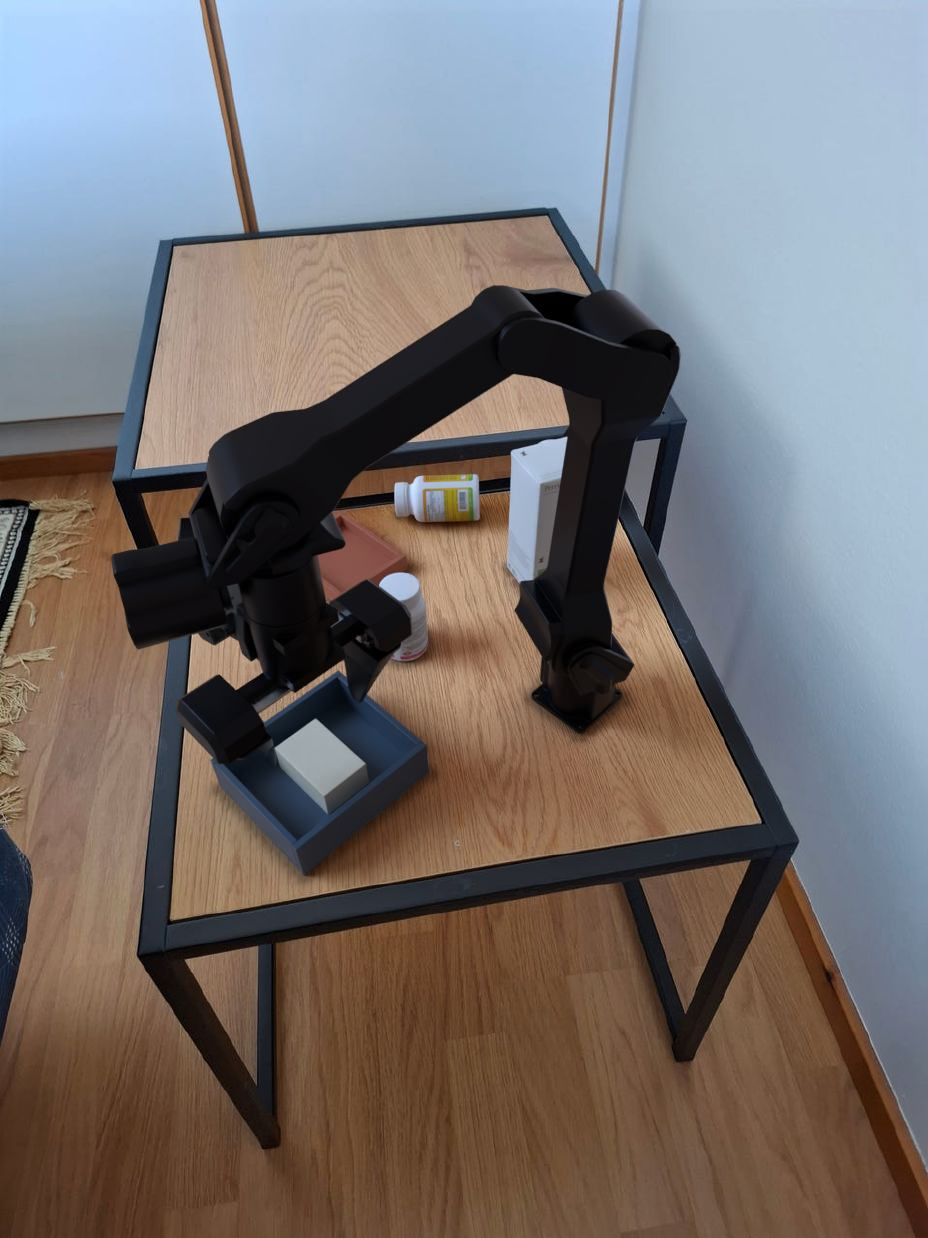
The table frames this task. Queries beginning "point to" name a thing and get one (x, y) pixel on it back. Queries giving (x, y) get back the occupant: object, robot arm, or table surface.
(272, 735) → the box
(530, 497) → the cosmetic box
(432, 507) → the supplement bottle
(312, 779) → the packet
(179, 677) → the table surface
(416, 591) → the pill bottle
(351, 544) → the tray
